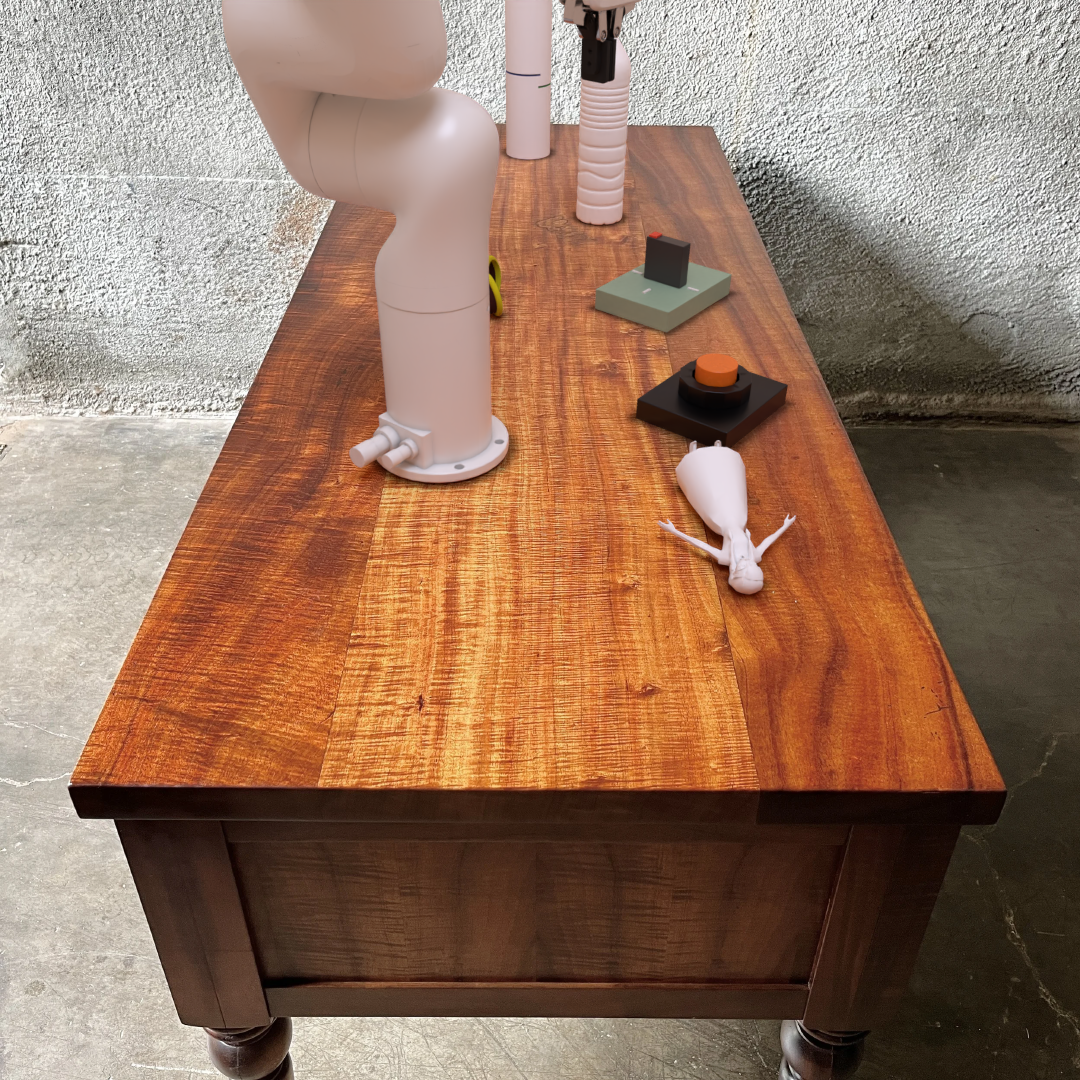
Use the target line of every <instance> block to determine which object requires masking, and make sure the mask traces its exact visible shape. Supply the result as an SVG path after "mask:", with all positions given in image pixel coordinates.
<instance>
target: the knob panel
mask: <svg viewBox="0 0 1080 1080" xmlns="http://www.w3.org/2000/svg"><path fill="white" fill-rule="evenodd" d="M644 267H645V262H643V263H642V264H640V265H638V266H637V267H634V268H633V269H631V270H629V271H627V272H625V273H623V274H621V275H619V276H618V277H616V278H614V279H612V280H610V281H608V282H606V283H605V284H602V285H601V286H599V287H597V288H596V289H595V299H594V301H595V303H594V309H595V310H597V311H600V312H603V313H606V314H610V315H612V316H614V317H615V316H616V317H619V318H622V319H625V320H627V321H631V322H634V323H637V324H639V325H643V326H645V327H648V328H652V329H654V330H658V331H661V332H664V333H669V332H671V331H672V330H674V329H675V328H676V327H678V326H680V325H681V324H683V323H684V322H686V321H688V320H689V319H691V318H693V317H694V316H695V315H697V314H699V313H701V312H702V311H703V310H706V309H707V308H709V307H711V306H712V305H713V304H715V303H716V302H718V301H720V300H721V299H723V298H724V297H726V296H728V295H730V290H731V284H732V277H733V276H732V274H731V273H729V272H726V271H721V270H718V269H716V268H711V267H708V266H705V265H701V264H698V263H694V262H692V261H691V262H690V261H689V264H688V274H687V284H686V285H684V286H683V287H681V288H676V287H673V286H670V285H666V284H663V283H660V282H657V281H654V280H650V279H647V278H644Z"/></svg>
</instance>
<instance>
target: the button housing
mask: <svg viewBox="0 0 1080 1080" xmlns="http://www.w3.org/2000/svg"><path fill="white" fill-rule="evenodd" d="M698 358H699V357H697V358H695V359H694V360H691V361H689V362H688V363H686V364H685V365H683V366H681V367H680V368H679V370H678V371H676V372H675V373H674V374H672V375H670V376H669V377H667V378H666V379H664V380H663V381H662V382H660V383H659V384H657V385H656V386H655V387H653V388H652V389H650V390H648V391H647V392H645V393H644V394H642V395H641V396H640V397H638V398H637V400H636V410H635V411H636V412H635V419H636V420H639V421H642V422H644V423H647V424H650V425H652V426H655V427H657V428H660V429H663V430H665V431H668V432H670V433H672V434H675V435H678V436H680V437H683V438H686V439H688V440H690V441H692V442H694V441H696V443H698V444H701V445H704V446H705V447H712V446H714V445H715V442H716V441H717V440H719V441H720V442H721V447H728V448H730V449H732V448H733V446H735V445H736V444H737V443H738V442H739V441H741V440H742V439H743V438H744V437H746V436H747V435H748V434H749V433H751V432H752V431H753V430H754V429H756V428H757V427H758V426H759V425H760V424H762V423H763V422H764V421H766V420H767V419H768V418H769V417H770V416H772V415H773V414H774V413H776V411H778V410H779V409H780V408H781V407H783V406H784V405H785V404H786V398H787V393H788V387H789V384H787V383H784V382H782V381H778V380H776V379H772V378H769V377H766V376H763V375H760V374H758V373H755V372H753V371H752V372H751V371H749V370H748V369H747V368H745V367H744V366H743V365H741V364H739V363H738V371H737V378H736V382H735V384H733V385H730V386H725V387H716V386H707V385H704V384H702V383H699V382H697V381H696V379H695V370H696V361H697V359H698Z"/></svg>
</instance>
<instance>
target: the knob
mask: <svg viewBox="0 0 1080 1080" xmlns="http://www.w3.org/2000/svg"><path fill="white" fill-rule="evenodd" d="M690 254H691V242H688V241H686V240H685V241H684V240H682V239H678V238H674V237H670V236H666V235H663V233H662V232H659V231H653V232H651V233H649V234H648V235H647V236H646V243H645V254H644V256H645V257H644V263H645V267H644V278H647V279H650V280H654V281H657V282H660V283H663V284H666V285H670V286H673V287H676V288H681V287H683V286H684V285H686V284H687V274H688V264H689V262H690Z"/></svg>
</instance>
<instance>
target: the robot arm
mask: <svg viewBox="0 0 1080 1080" xmlns="http://www.w3.org/2000/svg"><path fill="white" fill-rule="evenodd" d="M642 1H643V0H558V2H559V4H561V5H562V6H564V8H563V14H562V20H563V22H564V23H565V24H569V25H570V24H571V25H575V26H576V28H577V35H578V38H579V39H581V49H580V51H581V52H580V53H581V54H580V56H581V57H580V79H581V78H582V79H583V80H587V81H592V82H597V83H601V84H604V83H607V82H610V81H613V80H614V78H615V61H616V42H617V39H614V38H619V37H620V35H621V32H622V23H623V20H624V18H625V16H626V15H628V14H629V13H631V12H632V11H633V10H635V8H636V4H638V3H639V2H642ZM221 16H222V17H221V18H222V28H223V34H224V38H225V43H226V47H227V49H228V53H229V55H230V58H231V61H232V63H233V65H234V68H235V70H236V72H237V75H238V77H239V79H240V81H241V83H242V85H243V87H244V89H245V91H246V93H247V95H248V97H249V99H250V101H251V103H252V105H253V107H254V109H255V111H256V113H257V116H258V117H259V119H260V121H261V123H262V125H263V127H264V129H265V131H266V133H267V135H268V137H269V139H270V141H271V143H272V145H273V147H274V149H275V151H276V153H277V155H278V157H279V158H280V160H281V163H282V164H283V166H284V168H285V169H286V170H287V173H288V174H289V175H290V177H291V178H292V179H293V181H295V183H297V185H298V186H299V187H301V188H302V189H304V190H305V191H306V192H307V193H309V194H311V195H313V196H316V197H319V198H323V199H327V200H330V201H335V202H340V203H344V204H350V205H355V206H361V207H367V208H372V209H376V210H379V211H383V212H388V213H391V214H392V215H393V216H395V220H396V221H395V226H394V227H393V230H392V231H391V233H390V234H389V236H388V237H387V239H386V240H385V242H384V243H383V244H382V246H381V248H380V249H379V252H378V254H377V257H376V261H375V265H374V287H375V294H376V305H377V316H378V327H379V338H380V339H379V340H380V349H381V351H380V352H381V362H382V372H383V383H384V394H385V406H386V407H385V408H386V411H385V412H383V413H381V414H379V415H378V425H379V426H378V427H377V428H376V429H375V431H374V433H373V434H372V435H373V436H372V437H370V438H368V439H366V440H364V441H361V442H360V443H358V444H356V445H354V446H353V447H351V448H350V449H349V451H348V453H349V458H350V460H351V462H352V463H353V464H354V466H356V467H357V468H360V469H362V468H365V467H366V466H367V465H369V464H371V463H373V462H374V461H377V463H378V464H379V465H380V466H381V467H382V468H383V469H385V470H386V471H388V472H390V473H391V474H392V475H393V474H394V475H396V476H398V477H400V478H402V479H407V480H410V481H414V482H421V483H432V484H434V483H435V484H441V483H442V484H443V483H454V482H460V481H465V480H469V479H472V478H475V477H478V476H480V475H483V474H485V473H487V472H489V471H490V470H492V469H494V468H495V467H497V466H498V465H499V464H500V463H501V462H502V461H503V460H504V459H505V457H506V456H507V454H508V450H509V447H510V438H509V437H510V434H509V432H508V429H507V427H506V426H505V424H504V423H503V421H501V420H500V419H499V418H498V417H497V416H495V415H494V414H493V413H492V410H493V409H492V407H493V406H492V358H491V356H492V355H491V314H490V301H489V255H490V232H491V231H490V230H491V229H490V228H491V220H492V209H493V203H494V202H493V201H494V195H495V188H496V183H497V177H498V170H499V163H500V135H499V131H498V127H497V125H496V123H495V120H494V119H493V117H492V115H491V114H490V113H489V111H488V110H487V109H486V108H485V107H484V106H483V105H482V104H481V103H479V102H478V101H477V100H475V99H474V98H472V97H470V96H468V95H466V94H463V93H461V92H458V91H454V90H452V89H448V88H443V87H438V86H435V85H436V84H437V82H439V80H440V79H441V77H442V75H443V73H444V71H445V68H446V65H447V58H448V36H447V29H446V24H445V17H444V14H443V10H442V5H441V2H440V0H221Z"/></svg>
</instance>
